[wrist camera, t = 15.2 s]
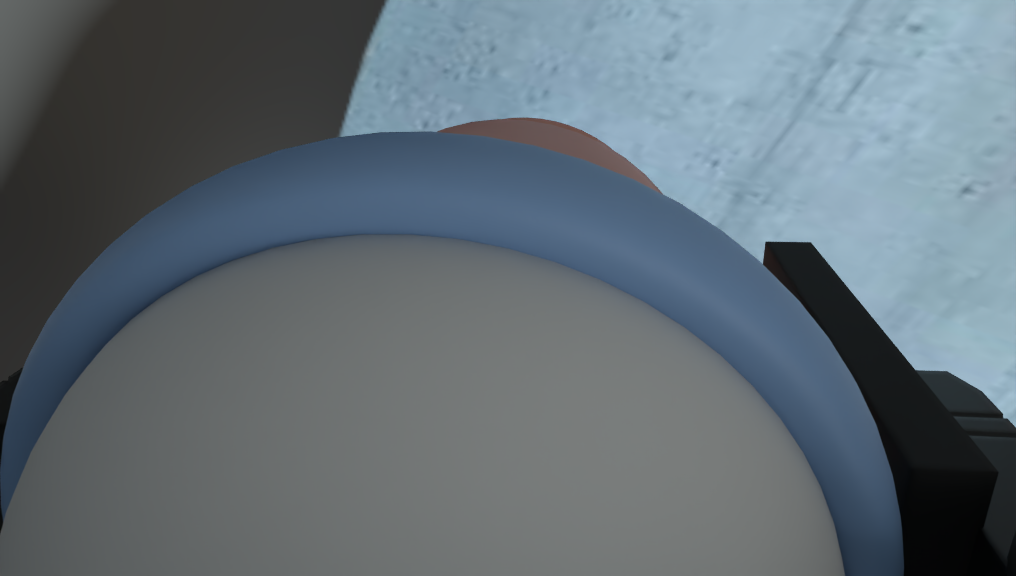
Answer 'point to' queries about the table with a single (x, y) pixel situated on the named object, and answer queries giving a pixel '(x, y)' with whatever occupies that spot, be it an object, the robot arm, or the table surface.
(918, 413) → the robot arm
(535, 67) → the table surface
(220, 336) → the cup with straw
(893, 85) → the table surface
